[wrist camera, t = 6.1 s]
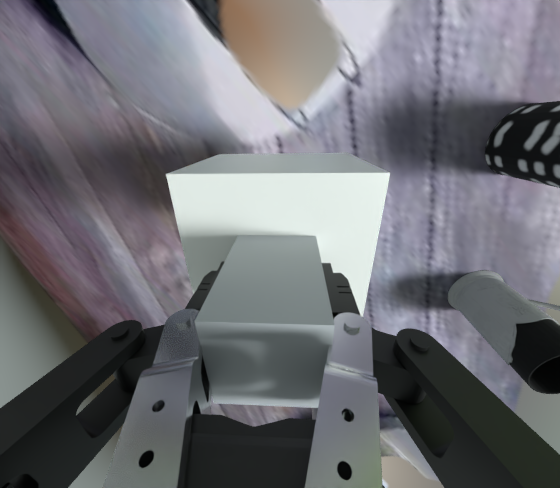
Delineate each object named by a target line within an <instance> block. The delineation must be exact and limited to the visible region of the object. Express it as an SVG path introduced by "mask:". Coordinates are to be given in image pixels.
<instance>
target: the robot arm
mask: <svg viewBox="0 0 560 488" xmlns="http://www.w3.org/2000/svg"><path fill="white" fill-rule="evenodd" d="M224 262H225V261H222V262H221V264H220V266H219V268H218V270H217V271H211V272H209V273H208V274H207V275H205V276H204V278H203V279H202V281H201V283H200V285H199V286H198V288H197V290H196V291H195V293H194V294H193V296H192V298H191V299H190V301H189V303H188V305H187V306H186V308H185V309H184V310H180V311H178V312H176V313H174V314H173V315H171V316H170V317H169V318H168V319H167V321H166V322H165V325H161V326H157V327H152V328H147V329H143V328H142V325H141V323H140V322H138V321H135V320H128V321H123V322H120V323H117V324H115V325H113V326H111V327H110V328H108V329H107V330H105V331H104V332H103V333H101V334H100V335H99V336H97V337H96V338H95V339H93V340H92V341H91V342H89V343H88V344H87V345H85V346H84V347H83V348H81V349H80V350H79V351H77V352H76V353H74V354H73V355H72V356H70V357H69V358H68V359H66V360H65V361H64V362H62V363H61V364H60V365H58V366H57V367H56V368H54V369H53V370H52V371H50V372H49V373H47V374H46V375H45V376H43V377H42V378H41V379H39V380H38V381H37V382H35V383H34V384H33V385H31V386H30V387H29V388H27V389H26V390H24V391H23V392H22V393H21V394H19V395H18V396H16V397H15V398H14V399H12V400H11V401H10V402H8V403H7V404H6V405H4V406H3V407H2V408H0V488H68V487H69V486H70V485H71V483H72V482H73V481H74V480H75V479H76V478H77V477H78V475H79V474H80V473H81V472H82V471H83V470H84V469H85V467H86V466H87V465H88V464H89V463H90V461H92V459H93V458H94V457H95V456H96V455H97V454H98V452H99V451H100V450H101V449H102V448H103V447H104V446H105V444H106V443H107V442H108V441H109V440H110V439H111V437H112V436H113V435H114V434H115V433H116V432H117V431H118V429H119V428H120V427H121V426H122V425H123V424H124V425H123V428H122V431H121V434H120V437H119V440H118V443H117V446H116V450H115V452H114V455H113V458H112V461H111V464H110V467H109V470H108V473H107V476H106V479H105V482H104V485H103V488H385V487H384V486H383V485H382V468H381V447H380V426H379V405H378V393H381V394H383V395H384V397H385V398H386V400H387V401H388V403H389V405H390V406H391V408H392V409H393V411H394V412H395V414H396V415H397V417H398V418H399V420H400V421H401V423H402V424H403V426H404V427H405V429H406V430H407V432H408V433H409V435H410V436H411V438H412V439H413V441H414V442H415V444H416V445H417V447H418V448H419V450H420V451H421V453H422V454H423V456H424V457H425V459H426V461H427V462H428V464H429V465H430V467H431V468H432V470H433V471H434V473H435V474H436V476H437V477H438V479H439V480H440V482H441V483H442V485H443V486H444V488H560V455H559V454H558V453H557V452H556V451H555V450H554V449H553V448H552V447H551V446H549V444H547V443H546V442H545V441H544V440H543V439H542V438H541V437H540V436H539V435H538V434H537V433H536V432H534V431H533V430H532V429H531V428H530V427H529V426H528V425H527V424H526V423H525V422H524V421H523V420H522V419H521V418H519V417H518V416H517V415H516V414H515V413H514V412H513V411H512V410H511V409H510V408H509V407H508V406H506V405H505V404H504V403H503V402H502V401H501V400H500V399H499V398H498V397H497V396H496V395H495V394H494V393H492V392H491V391H490V390H489V389H488V388H487V387H486V386H485V385H484V384H483V383H482V382H481V381H479V380H478V379H477V378H476V377H475V376H474V375H473V374H472V373H471V372H470V371H469V370H468V369H467V368H465V367H464V366H463V365H462V364H461V363H460V362H459V361H458V360H457V359H456V358H455V357H454V356H452V355H451V354H450V353H449V352H448V351H447V350H446V349H445V348H444V347H443V346H442V345H441V344H440V343H438V342H437V341H436V340H435V339H434V338H433V337H431V336H430V335H428V334H427V333H425V332H422V331H420V330H416V329H403V330H401V331H399V332H398V334H397V336H394V335H390V334H386V333H383V332H380V331H377V330H375V329H373V328H371V325H370V324H369V322H368V321H367V320H366V319H365V318H363V317H362V316H361V315H360V312H359V309H358V307H357V304H356V301H355V298H354V295H353V294H352V290H351V288H350V284H349V281H348V279H347V278H346V277H345V276H344V275H343V274H342V273H333V270H332V266H331V263H322V267H323V272H324V276H325V281H326V286H327V291H328V296H329V300H330V305H331V310H332V315H333V319H334V324H335V327H334V336H333V344H332V345H329V349H328V355H327V362H326V364H325V370H324V375H323V381H322V387H321V393H320V399H319V405H318V408H312V418H313V419H293V418H289V419H285V420H281V421H277V422H273V423H269V424H265V425H261V426H256V427H252V426H249V425H246V424H244V423H241V422H238V421H236V420H233V419H230V418H228V417H225V416H222V415H211V394H212V388H211V384H210V381H209V380H208V376H207V372H206V368H205V363H204V359H203V355H202V352H203V350H202V346H201V342H200V341H199V338H198V334H197V330H196V326H195V320H196V318H197V316H198V314H199V312H200V310H201V308H202V306H203V304H204V302H205V300H206V298H207V296H208V294H209V292H210V290H211V288H212V286H213V284H214V282H215V280H216V278H217V276H218V274H219V272H220V270H221V268H222V266H223V264H224ZM112 374H113V375H114V377H115V380H114V381H113V382H111V383H110V384H109V385H108V386H107V387H106V388H105V389H104V390H103V391H102V392H101V393H100V394H99V395H98V396H97V397H96V398H95V399H94V400H92V401H91V402H90V404H88V405H87V406H86V407H85V408H84V409H83V410H82V411H81V412H80V413H79V414H78V415H76V412H77V409H78V407H79V406H80V404H81V403H82V402H83V400H85V399H86V398H87V397H88V396H89V395H90V394H91V393H92V392H93V391H94V390H95V389H96V388H98V387H99V386H100V384H102V383H103V382H104V381H105V380H106V379H107V378H109V376H111V375H112Z"/></svg>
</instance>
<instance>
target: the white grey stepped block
mask: <svg viewBox="0 0 560 488" xmlns="http://www.w3.org/2000/svg"><path fill="white" fill-rule="evenodd" d="M166 177H167V181H168V185H169V190H170V194H171V199H172V203H173V207H174V212H175V216H176V221H177V225H178V229H179V234H180V238H181V243H182V247H183V251H184V256H185V260H186V265H187V269H188V274H189V278H190V282H191V287H192V291H193V294H194V293H195V291H196V290H197V288H198V286H199V285H200V283H201V281H202V279H203V278H204V276H205V275H207V274H208V273H209V272H211V271H217V270H218V268H219V266H220V264H221V262H222V261H225V262H224V264H223V266H222V268H221V270H220V272H219V274H218V276H217V278H216V280H215V282H214V284H213V286H212V288H211V290H210V292H209V294H208V296H207V298H206V300H205V302H204V304H203V306H202V308H201V310H200V312H199V314H198V316H197V318H196V320H195V326H196V330H197V334H198V338H199V341H200V342H201V346H202V350H203V352H202V355H203V359H204V363H205V368H206V372H207V376H208V380H209V381H210V384H211V388H212V397H213V401H214V403H221V404H243V405H265V406H287V407H309V408H318V405H319V399H320V393H321V387H322V381H323V375H324V370H325V364H326V362H327V355H328V349H329V345H332V344H333V336H334V327H335V324H334V319H333V315H332V310H331V305H330V300H329V296H328V291H327V286H326V281H325V276H324V272H323V267H322V263H331V266H332V270H333V273H342V274H343V275H344V276H345V277H346V278H347V279H348V281H349V284H350V288H351V290H352V294H353V295H354V298H355V301H356V304H357V307H358V309H359V312H360V315H361V316H362V317H363V313H364V307H365V302H366V297H367V292H368V286H369V281H370V276H371V271H372V266H373V260H374V255H375V250H376V245H377V240H378V234H379V229H380V224H381V219H382V213H383V208H384V203H385V198H386V193H387V187H388V182H389V177H390V172H388V171H386V170H384V169H381V168H379V167H377V166H375V165H373V164H371V163H369V162H367V161H364V160H362V159H360V158H358V157H356V156H354V155H352V154H350V153H286V154H218V155H216V156H213V157H210V158H208V159H205V160H202V161H200V162H197V163H194V164H191V165H189V166H186V167H183V168H181V169H178V170H175V171H173V172H170V173H167V174H166Z"/></svg>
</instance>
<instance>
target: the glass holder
mask: <svg viewBox="0 0 560 488" xmlns="http://www.w3.org/2000/svg"><path fill="white" fill-rule="evenodd" d="M448 301H449V303H450V305H451V306H452V307H453V308H455V309H456V310H459V311H460V312H461V313H462V314H463V315H464V316H465V318H466V319H467V320H468V321H469V322H470V323H471V324H472V325H473V326H474V328H475V329H476V330H477V331H478V332H479V333H480V334H481V335H482V336H483V338H484V339H485V340H486V341H487V342H488V343H489V344H490V345H491V346H492V348H493V349H494V350H495V351H496V352H497V353H498V354H499V355H500V356H501V358H502V359H503V360H504V361H505V362H506V363H507V364H508V365H509V364H510V365H511V366H512V368H513V369H514V370H515V371H516V372H517V373H518V374H519V375H520V376H521V377H522V379H523V380H524V381H525V382H526V383H527V384H528V385H529V386H530V387H531V388H532V389H533V390H535V391H537V392H540V393H546V394H558V393H560V325H559V324H558V322H557V321H556V320H554V319H553V318H551V317H550V316H549V315H547V314H546V313H545V312H543V311H542V310H541V309H539V308H538V307H537V306H541V307H546V308H550V309H554V310H559V311H560V306H557V305H553V304H548V303H543V302H538V301H534V300H529V299H526V298H524V297H523V296H522V295H520V294H519V293H518V292H516V291H515V290H514V289H512V288H511V287H510V286H508V285H507V284H506V283H504V281H503V279H502V277H501V276H500V275H498V274H497V273H495V272H492V271H485V270H482V271H475V272H472V273H469V274H467V275H465V276H463V277H461V278H460V279H458V280H457V281H456V282H455V283H454V284H453V285H452V286H451V288H450V290H449V292H448ZM535 305H536V306H535Z"/></svg>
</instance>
